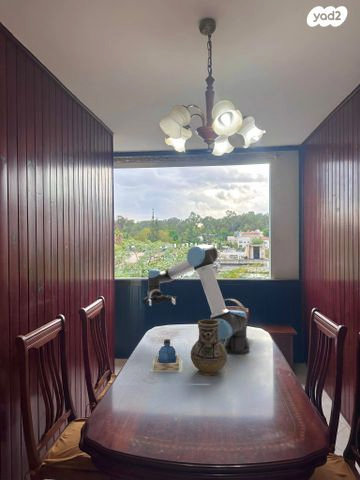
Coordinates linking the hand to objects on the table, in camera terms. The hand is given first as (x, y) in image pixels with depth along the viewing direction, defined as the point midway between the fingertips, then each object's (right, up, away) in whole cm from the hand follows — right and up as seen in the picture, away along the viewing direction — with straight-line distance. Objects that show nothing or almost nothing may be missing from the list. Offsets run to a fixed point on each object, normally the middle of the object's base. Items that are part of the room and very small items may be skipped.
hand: (162, 302), depth 194 cm
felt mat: (+3, -30, -14) cm, 34 cm away
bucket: (+44, -29, +35) cm, 64 cm away
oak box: (+3, -30, -14) cm, 33 cm away
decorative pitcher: (+24, -30, -22) cm, 44 cm away
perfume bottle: (+3, -29, -14) cm, 32 cm away
